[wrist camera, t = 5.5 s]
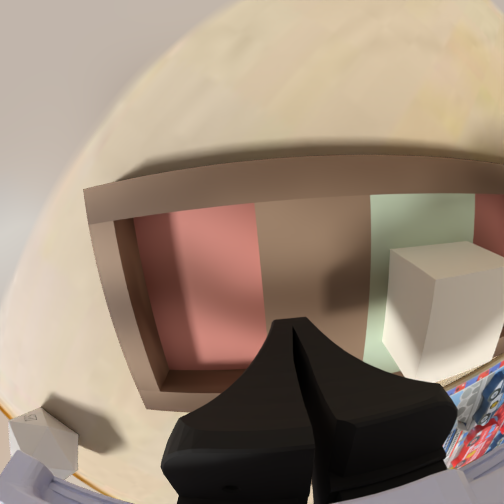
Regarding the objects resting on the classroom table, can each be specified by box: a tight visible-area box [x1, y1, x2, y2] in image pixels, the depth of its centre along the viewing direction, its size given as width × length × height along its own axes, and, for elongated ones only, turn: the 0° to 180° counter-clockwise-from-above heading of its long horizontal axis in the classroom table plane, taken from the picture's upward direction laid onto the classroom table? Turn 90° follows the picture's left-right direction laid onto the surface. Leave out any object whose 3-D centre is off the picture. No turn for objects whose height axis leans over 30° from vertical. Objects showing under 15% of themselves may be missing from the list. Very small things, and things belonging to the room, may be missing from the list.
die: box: [8, 407, 78, 480], centre depth 17 cm, size 8×9×10 cm
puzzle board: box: [443, 353, 504, 469], centre depth 20 cm, size 30×23×3 cm
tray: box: [83, 155, 504, 412], centre depth 14 cm, size 14×28×2 cm, turn 96°
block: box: [382, 241, 504, 383], centre depth 10 cm, size 5×5×4 cm
